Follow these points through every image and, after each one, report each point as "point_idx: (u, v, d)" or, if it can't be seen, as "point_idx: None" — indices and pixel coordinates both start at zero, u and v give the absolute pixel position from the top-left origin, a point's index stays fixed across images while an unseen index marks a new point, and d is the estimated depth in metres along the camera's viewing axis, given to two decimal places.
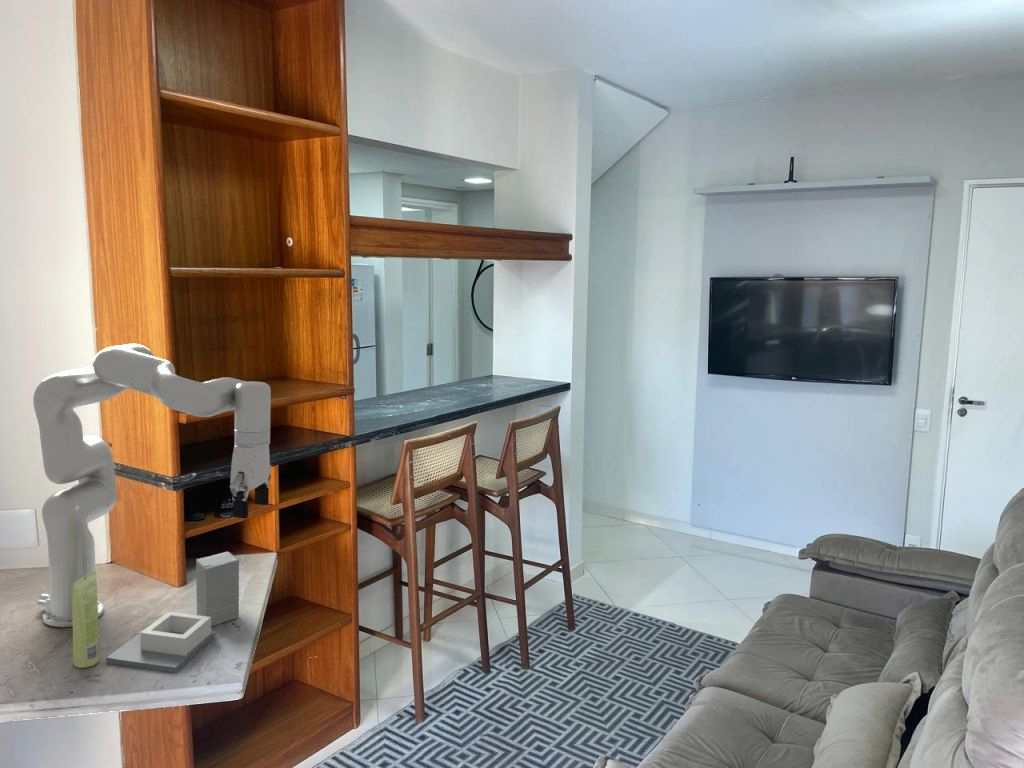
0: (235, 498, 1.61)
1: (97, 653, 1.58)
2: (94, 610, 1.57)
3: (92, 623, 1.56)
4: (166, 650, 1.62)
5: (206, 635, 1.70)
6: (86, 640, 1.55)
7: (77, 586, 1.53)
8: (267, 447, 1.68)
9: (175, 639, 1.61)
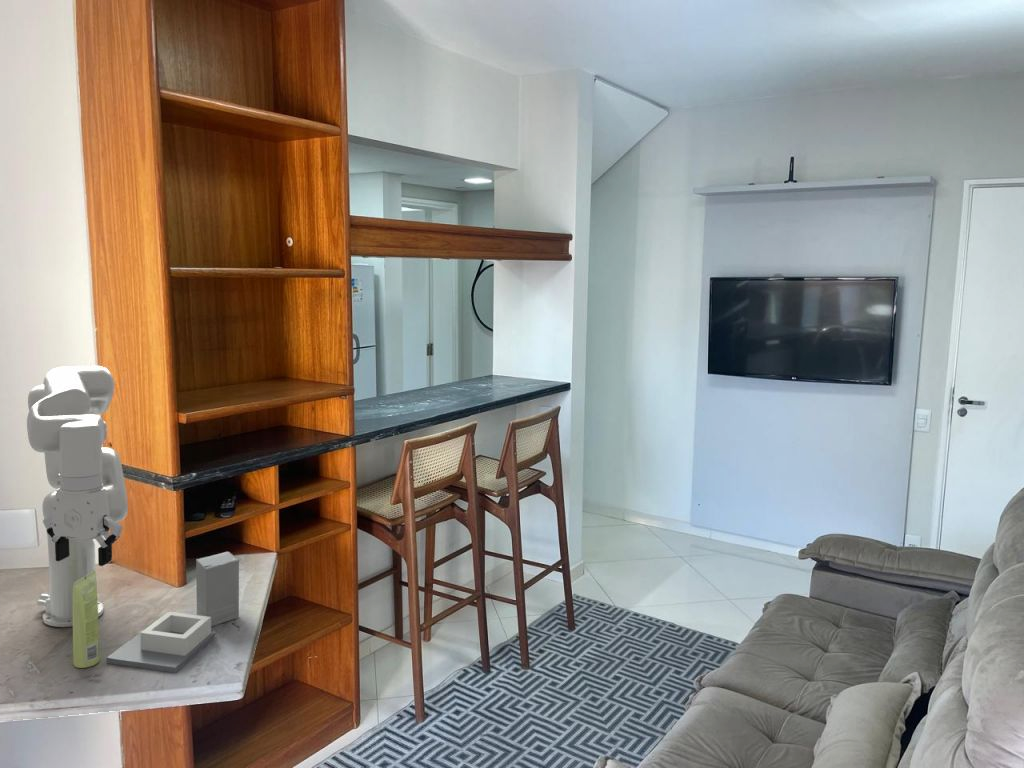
0: (111, 542, 1.53)
1: (97, 653, 1.58)
2: (94, 610, 1.57)
3: (92, 623, 1.56)
4: (166, 650, 1.62)
5: (206, 635, 1.70)
6: (86, 640, 1.55)
7: (77, 586, 1.53)
8: None
9: (175, 639, 1.61)
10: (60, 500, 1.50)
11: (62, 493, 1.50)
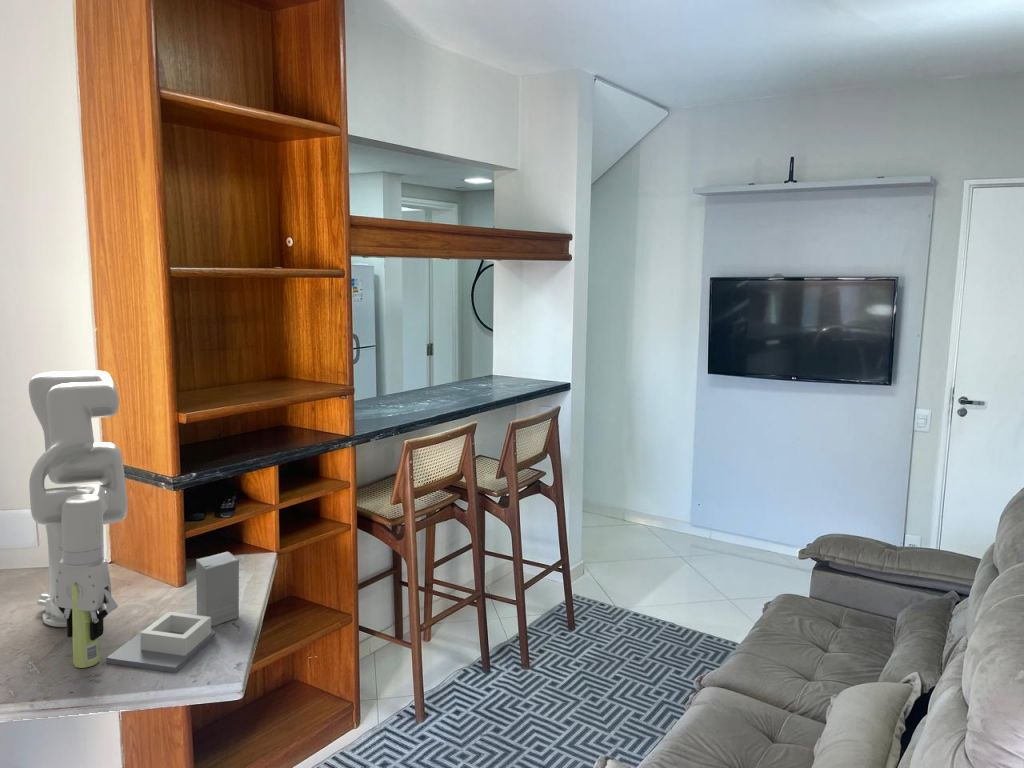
0: (103, 617, 1.56)
1: (97, 652, 1.58)
2: None
3: None
4: (166, 650, 1.62)
5: (206, 635, 1.70)
6: (86, 640, 1.55)
7: None
8: None
9: (175, 639, 1.61)
10: (62, 573, 1.53)
11: (64, 566, 1.53)
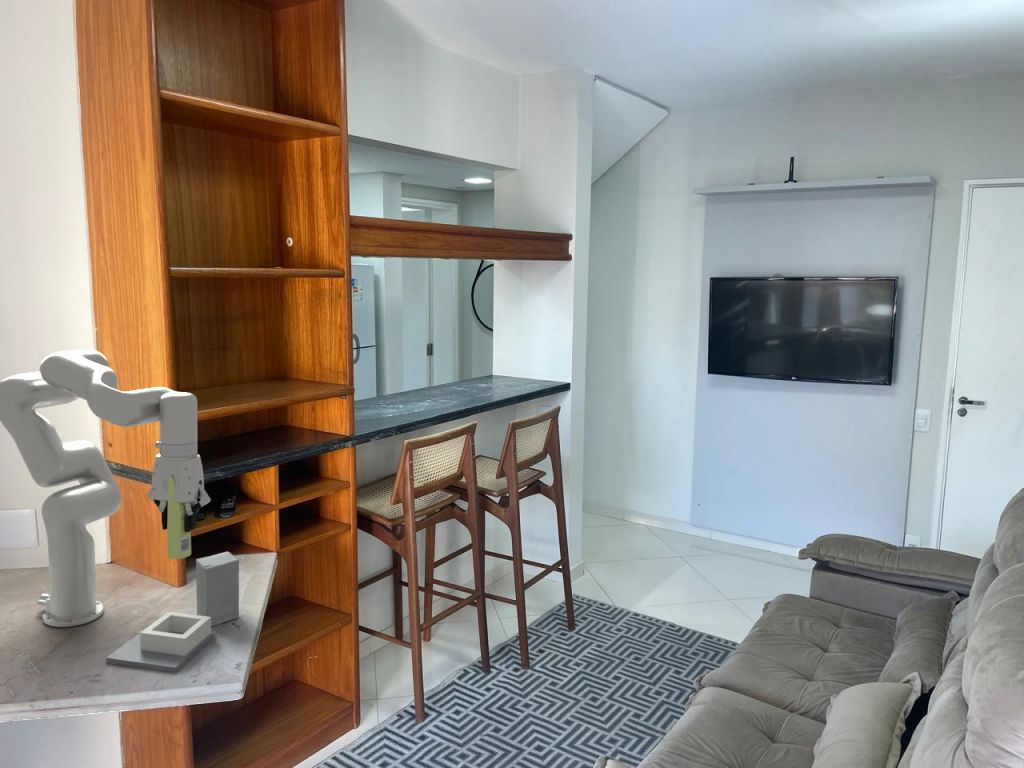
0: (196, 510, 1.63)
1: (189, 545, 1.65)
2: None
3: None
4: (166, 650, 1.62)
5: (206, 635, 1.70)
6: (180, 532, 1.62)
7: None
8: None
9: (175, 639, 1.61)
10: (159, 466, 1.60)
11: (161, 459, 1.60)
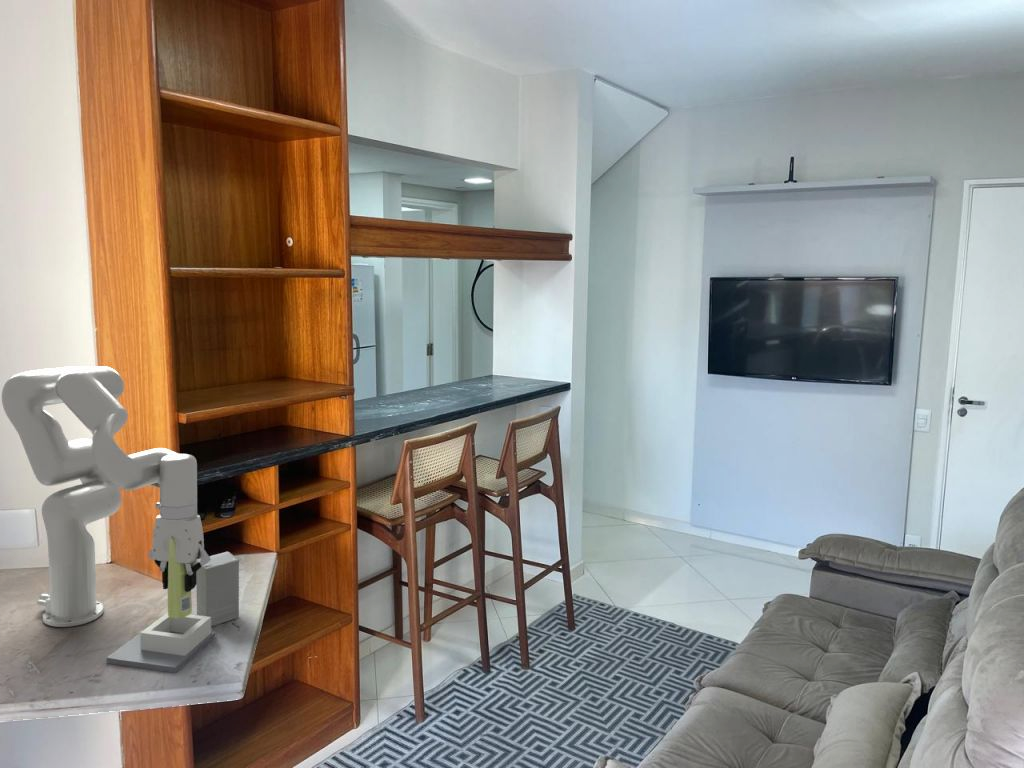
0: (196, 570, 1.65)
1: (190, 604, 1.67)
2: None
3: None
4: (166, 650, 1.62)
5: (206, 635, 1.70)
6: (180, 592, 1.64)
7: (173, 540, 1.62)
8: None
9: (175, 639, 1.61)
10: (160, 527, 1.62)
11: (162, 521, 1.62)
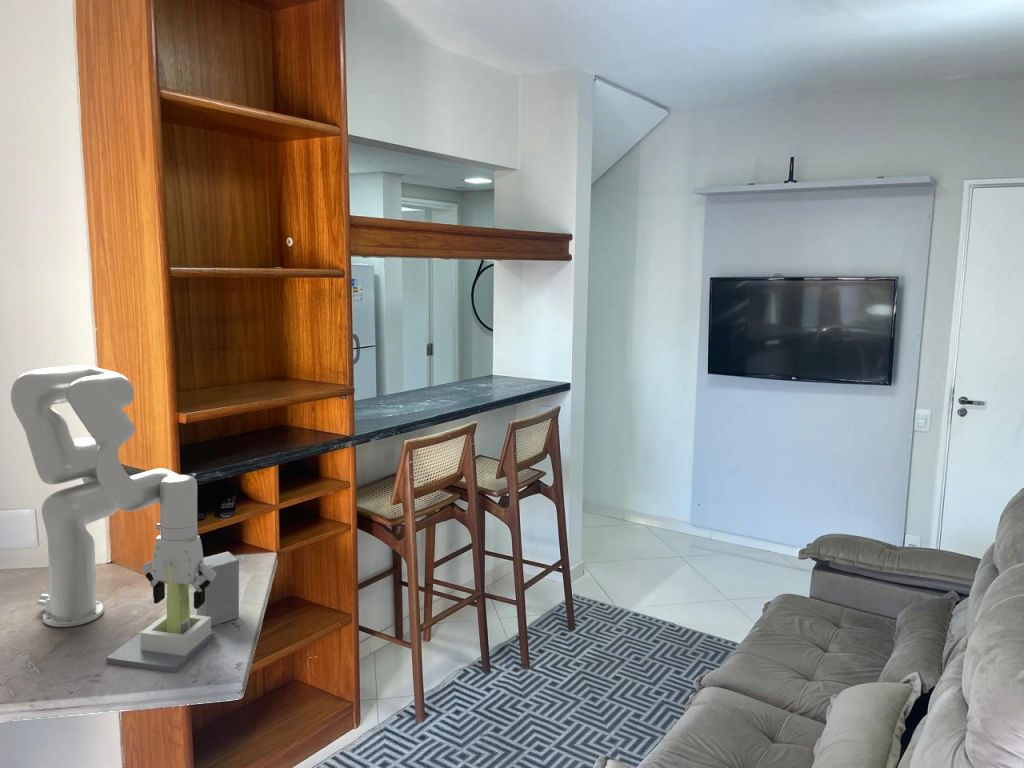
0: (205, 587, 1.65)
1: (188, 629, 1.68)
2: (186, 589, 1.67)
3: (185, 601, 1.66)
4: (166, 650, 1.62)
5: (206, 635, 1.70)
6: (179, 617, 1.65)
7: None
8: None
9: (175, 639, 1.61)
10: (160, 548, 1.63)
11: (162, 542, 1.62)
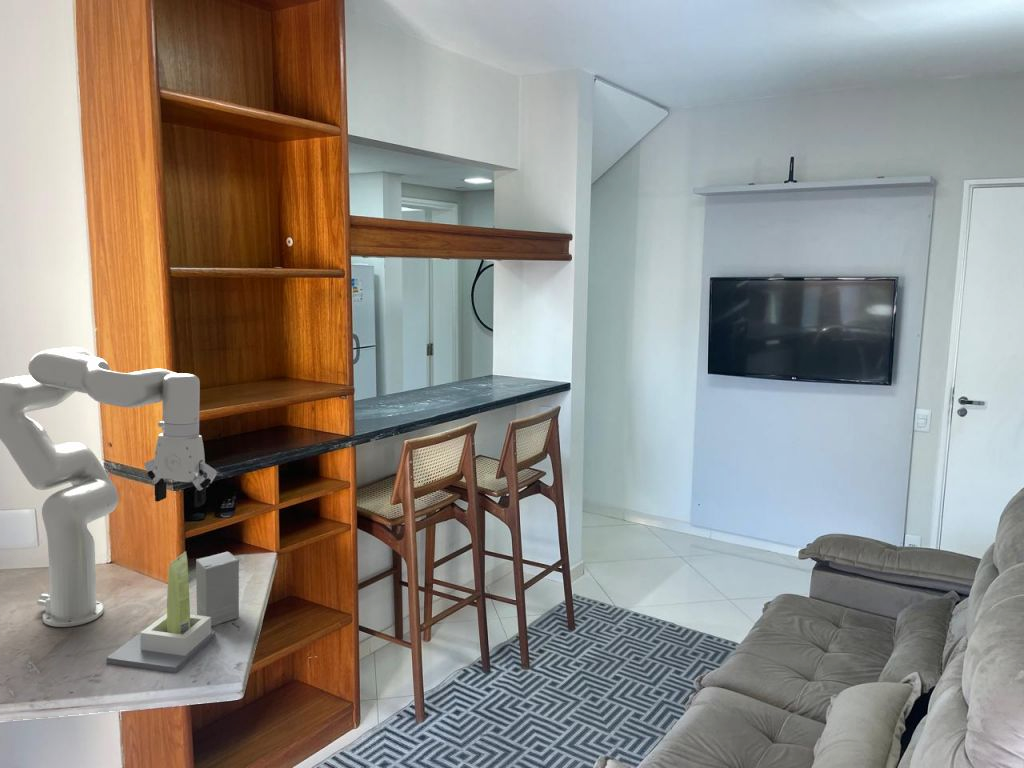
0: (206, 486, 1.66)
1: (188, 629, 1.68)
2: (187, 589, 1.67)
3: (185, 601, 1.66)
4: (166, 650, 1.62)
5: (206, 635, 1.70)
6: (180, 617, 1.65)
7: (173, 566, 1.63)
8: None
9: (175, 639, 1.61)
10: (161, 445, 1.64)
11: (164, 438, 1.63)
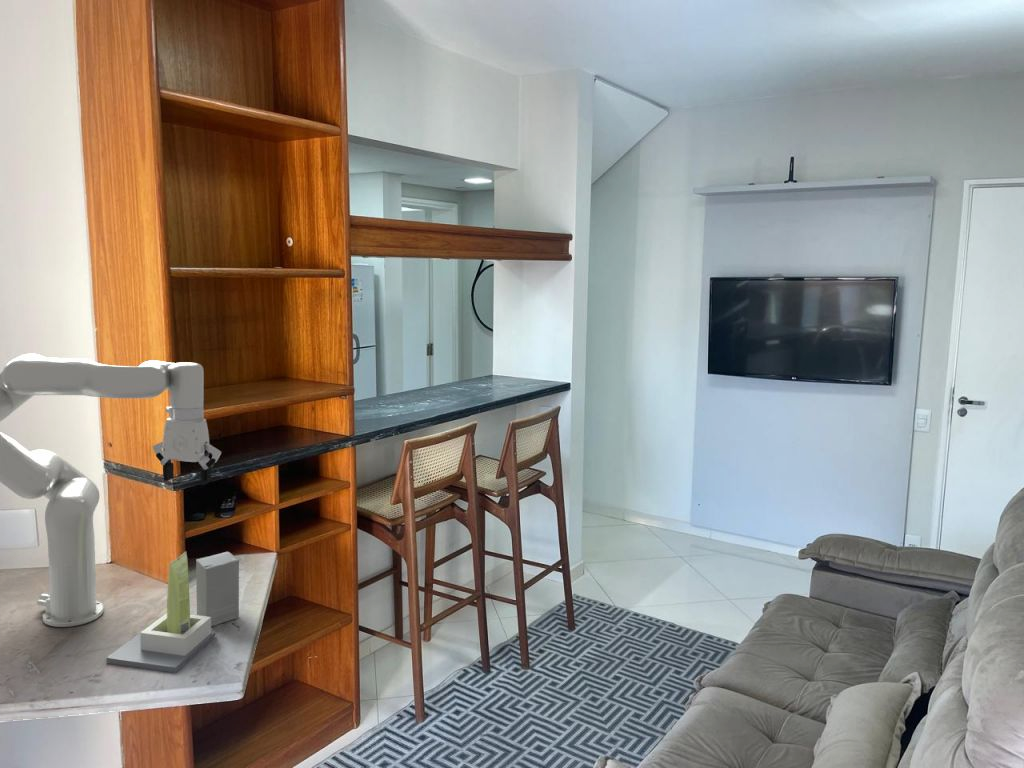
0: (211, 465, 1.80)
1: (188, 629, 1.68)
2: (187, 589, 1.67)
3: (185, 601, 1.66)
4: (166, 650, 1.62)
5: (206, 635, 1.70)
6: (180, 617, 1.65)
7: (173, 566, 1.63)
8: None
9: (175, 639, 1.61)
10: (169, 428, 1.78)
11: (171, 422, 1.78)
